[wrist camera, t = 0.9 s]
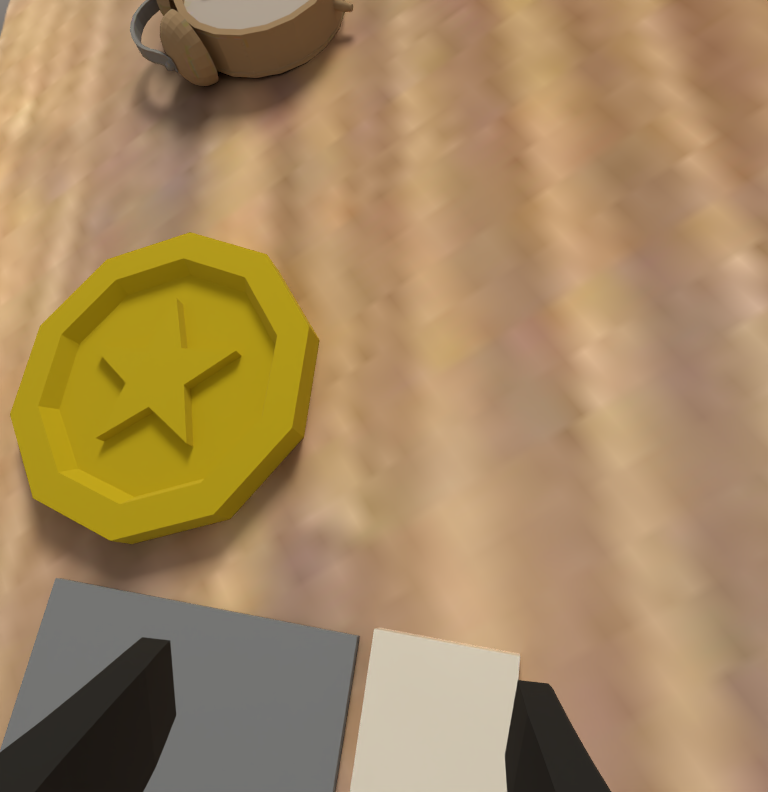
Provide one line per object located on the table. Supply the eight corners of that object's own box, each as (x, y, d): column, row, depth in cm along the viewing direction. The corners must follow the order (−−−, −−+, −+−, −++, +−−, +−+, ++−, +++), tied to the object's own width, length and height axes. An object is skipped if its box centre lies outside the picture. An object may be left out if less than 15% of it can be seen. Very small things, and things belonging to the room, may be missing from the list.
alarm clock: (358, 2, 35) (116, 49, 34) (364, 75, 39) (150, 118, 39) (323, -99, 39) (108, -59, 38) (332, -23, 44) (140, 14, 43)
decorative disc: (4, 530, 31) (-28, 525, 29) (92, 255, 37) (70, 237, 35) (286, 561, 27) (270, 557, 25) (336, 247, 33) (325, 226, 31)
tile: (355, 808, 23) (505, 850, 22) (345, 823, 22) (504, 868, 20) (382, 627, 25) (519, 652, 24) (374, 628, 24) (520, 656, 22)
